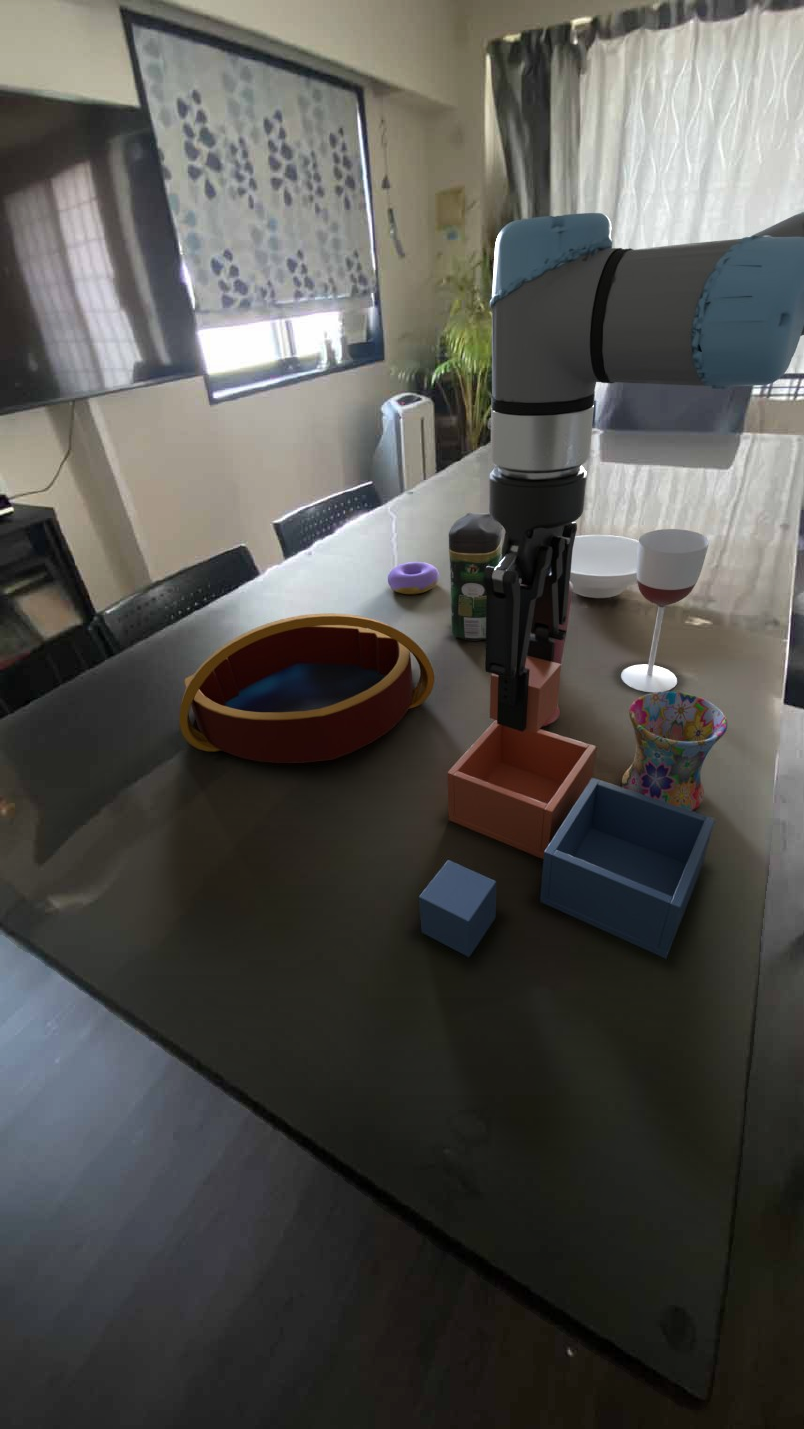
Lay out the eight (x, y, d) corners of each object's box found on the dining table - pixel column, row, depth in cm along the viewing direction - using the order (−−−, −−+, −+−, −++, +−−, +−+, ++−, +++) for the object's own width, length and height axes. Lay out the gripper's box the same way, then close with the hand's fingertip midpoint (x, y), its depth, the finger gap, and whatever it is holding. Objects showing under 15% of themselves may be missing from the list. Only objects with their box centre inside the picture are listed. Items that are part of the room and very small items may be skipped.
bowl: (522, 580, 121) (523, 545, 117) (612, 562, 125) (617, 528, 121) (576, 623, 106) (580, 584, 102) (677, 600, 110) (684, 562, 106)
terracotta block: (557, 707, 64) (561, 663, 61) (536, 733, 60) (539, 689, 58) (512, 693, 66) (513, 651, 63) (489, 718, 63) (490, 675, 60)
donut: (420, 570, 128) (421, 548, 124) (447, 593, 122) (450, 571, 119) (377, 583, 124) (378, 561, 120) (403, 608, 118) (405, 586, 115)
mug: (708, 829, 66) (732, 749, 60) (615, 815, 69) (628, 736, 63) (701, 758, 76) (721, 682, 69) (619, 748, 78) (631, 674, 72)
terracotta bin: (590, 794, 72) (596, 746, 68) (547, 861, 64) (552, 812, 60) (497, 762, 78) (498, 716, 74) (448, 820, 70) (446, 772, 66)
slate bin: (700, 869, 62) (715, 818, 58) (666, 959, 55) (680, 907, 51) (585, 826, 68) (592, 777, 64) (539, 901, 60) (544, 851, 56)
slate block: (495, 917, 59) (496, 881, 56) (469, 958, 56) (468, 921, 53) (449, 895, 62) (448, 859, 59) (421, 932, 58) (418, 896, 56)
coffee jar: (458, 614, 111) (455, 507, 100) (503, 617, 109) (506, 508, 98) (446, 641, 103) (442, 528, 93) (495, 644, 101) (497, 530, 91)
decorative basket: (413, 664, 103) (402, 571, 96) (464, 747, 77) (455, 629, 70) (199, 703, 98) (172, 609, 92) (178, 806, 72) (138, 686, 66)
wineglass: (689, 674, 91) (720, 536, 79) (661, 700, 86) (690, 558, 74) (637, 657, 95) (658, 525, 84) (607, 681, 90) (626, 544, 79)
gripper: (541, 437, 58) (528, 661, 71) (436, 492, 46) (444, 748, 59) (624, 443, 54) (594, 677, 67) (533, 504, 42) (519, 774, 55)
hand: (524, 710), depth 63 cm, fingers closed on terracotta block, 5 cm apart
